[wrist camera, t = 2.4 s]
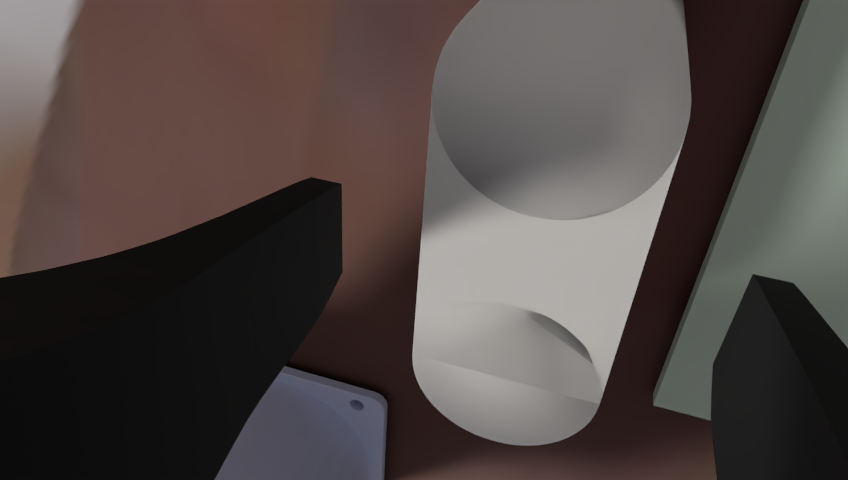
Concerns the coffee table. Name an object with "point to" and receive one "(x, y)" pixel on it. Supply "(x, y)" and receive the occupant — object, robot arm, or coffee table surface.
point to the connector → (543, 205)
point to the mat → (777, 207)
